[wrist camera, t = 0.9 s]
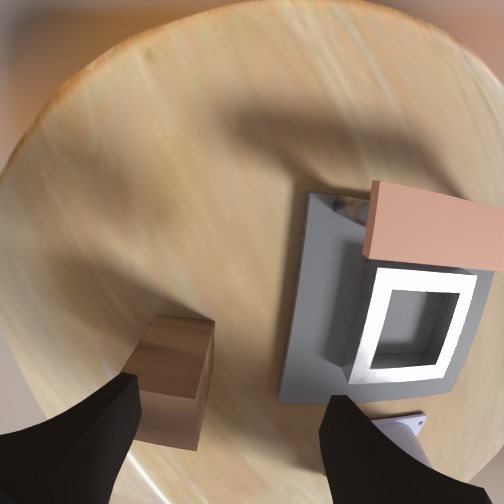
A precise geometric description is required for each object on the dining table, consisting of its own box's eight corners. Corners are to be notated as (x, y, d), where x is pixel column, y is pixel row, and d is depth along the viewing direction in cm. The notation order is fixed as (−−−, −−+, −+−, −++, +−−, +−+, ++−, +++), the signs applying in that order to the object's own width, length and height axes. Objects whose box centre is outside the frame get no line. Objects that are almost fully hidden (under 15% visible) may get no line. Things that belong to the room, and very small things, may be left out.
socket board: (445, 385, 22) (484, 436, 15) (277, 394, 22) (284, 470, 14) (497, 212, 18) (564, 230, 11) (309, 175, 18) (345, 175, 10)
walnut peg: (212, 369, 21) (196, 451, 13) (159, 361, 21) (125, 437, 13) (214, 321, 20) (195, 399, 12) (157, 314, 20) (113, 384, 12)
